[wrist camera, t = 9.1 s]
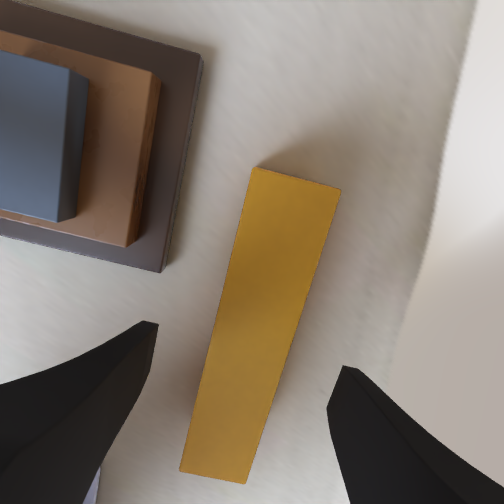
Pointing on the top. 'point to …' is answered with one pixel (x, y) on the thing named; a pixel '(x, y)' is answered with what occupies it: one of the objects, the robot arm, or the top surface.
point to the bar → (256, 320)
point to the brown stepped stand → (92, 136)
